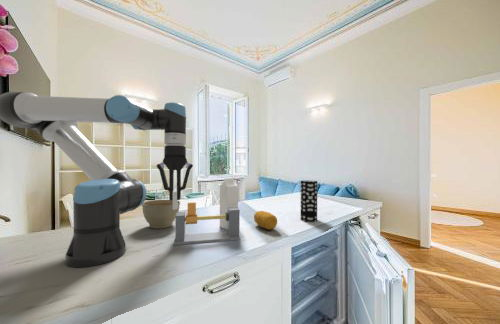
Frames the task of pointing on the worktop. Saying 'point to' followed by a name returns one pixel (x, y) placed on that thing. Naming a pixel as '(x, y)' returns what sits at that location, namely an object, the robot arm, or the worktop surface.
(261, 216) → the potato
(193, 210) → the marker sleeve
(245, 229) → the worktop surface
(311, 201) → the white-spotted black cylinder
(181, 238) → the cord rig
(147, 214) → the planter bowl
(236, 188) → the milk
